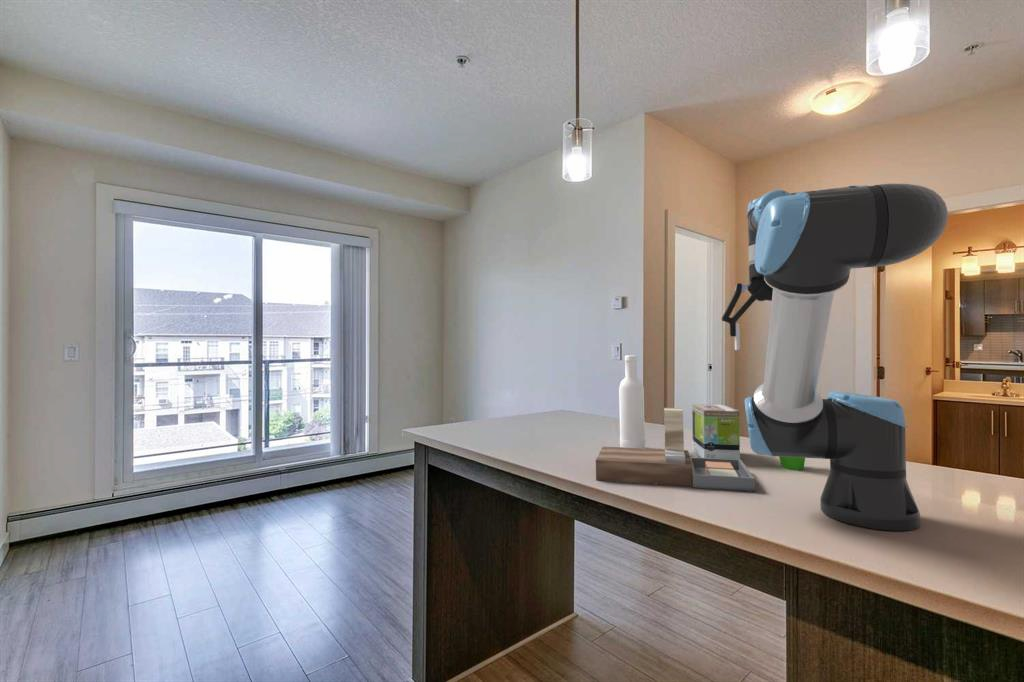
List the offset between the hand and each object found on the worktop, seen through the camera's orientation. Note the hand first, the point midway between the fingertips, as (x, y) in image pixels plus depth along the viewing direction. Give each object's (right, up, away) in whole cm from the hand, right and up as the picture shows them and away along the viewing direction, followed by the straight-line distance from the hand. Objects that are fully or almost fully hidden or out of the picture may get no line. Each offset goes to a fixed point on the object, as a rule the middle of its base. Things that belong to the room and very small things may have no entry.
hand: (767, 349), depth 115 cm
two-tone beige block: (-21, -27, +4) cm, 35 cm away
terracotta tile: (-10, -29, +5) cm, 31 cm away
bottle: (-24, -33, +36) cm, 54 cm away
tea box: (-2, -32, +25) cm, 41 cm away
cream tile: (-12, -29, -2) cm, 32 cm away
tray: (-11, -32, +1) cm, 34 cm away
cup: (+12, -32, +11) cm, 36 cm away
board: (-28, -32, +7) cm, 43 cm away
